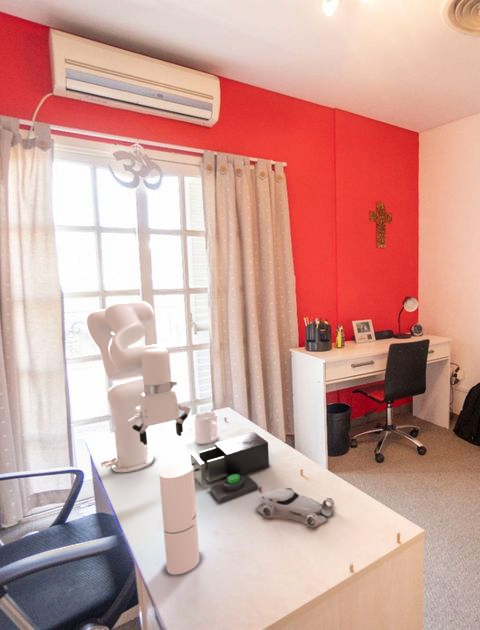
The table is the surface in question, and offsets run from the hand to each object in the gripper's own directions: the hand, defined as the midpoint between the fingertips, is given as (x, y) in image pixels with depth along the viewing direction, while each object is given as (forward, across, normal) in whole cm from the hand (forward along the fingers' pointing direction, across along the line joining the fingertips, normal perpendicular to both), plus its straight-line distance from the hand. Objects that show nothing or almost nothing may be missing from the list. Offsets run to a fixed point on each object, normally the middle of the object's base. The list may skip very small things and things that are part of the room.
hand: (162, 438), depth 134 cm
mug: (+18, -23, -32) cm, 44 cm away
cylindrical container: (+19, +5, +40) cm, 44 cm away
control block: (+19, -17, +14) cm, 29 cm away
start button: (+16, -17, +14) cm, 27 cm away
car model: (+19, -25, +38) cm, 50 cm away
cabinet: (+19, -25, 0) cm, 31 cm away
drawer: (+18, -14, 0) cm, 22 cm away
